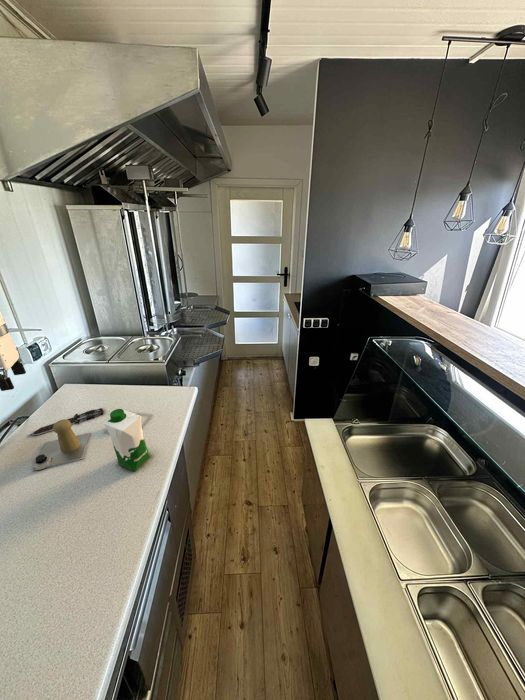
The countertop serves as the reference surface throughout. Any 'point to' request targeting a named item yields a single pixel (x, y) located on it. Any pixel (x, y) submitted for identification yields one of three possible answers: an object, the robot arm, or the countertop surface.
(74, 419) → the knife
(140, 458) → the milk carton
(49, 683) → the countertop surface
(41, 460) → the power button
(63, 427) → the cork
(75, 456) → the scale
